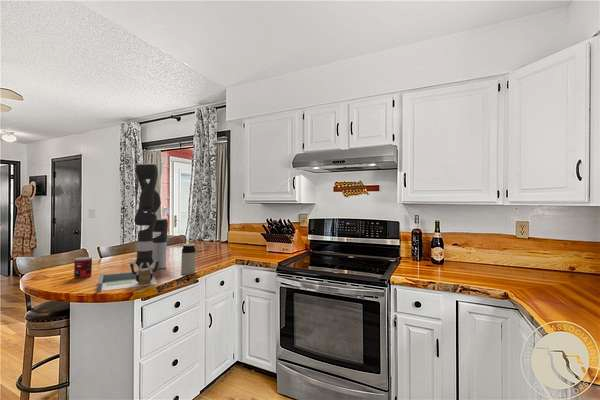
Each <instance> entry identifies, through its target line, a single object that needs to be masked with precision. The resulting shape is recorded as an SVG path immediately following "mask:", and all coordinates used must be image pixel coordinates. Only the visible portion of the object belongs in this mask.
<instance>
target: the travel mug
mask: <svg viewBox="0 0 600 400" xmlns="http://www.w3.org/2000/svg"><path fill="white" fill-rule="evenodd" d="M195 245H196V244H195V243H184V244H182V248H181V265H180V266H181V269H180V270H181V271H180V273H181V275H185V276H188V275H193V274H195V273H196V248H195Z"/></svg>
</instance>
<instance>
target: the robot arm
mask: <svg viewBox="0 0 600 400" xmlns="http://www.w3.org/2000/svg"><path fill="white" fill-rule="evenodd" d="M158 172H159V171H158V167H157V165H156V163H137V164H136V165H135V174H136V177H137V181H138V183H139V185H140V189H141V193H140V195H139V200H138V201H139V204H138V208H137V210H136V213H135V216H134V225H136V226H140V227H141V226H144V227H145V226H148V227H147V228H145V229H141V230H139V231H138V232H137V244H136V260H135V262H130V263H129V266H130V269H131V272H132V274H135V275H136V281H137V282H139V272H140V271H141V269H149V271H150V281H151V280H152V274H153V273H154V274H155V273H156V272H157V270H159V269H165V268H166V267H167V250H168V249H167V245H168V244H167V241H168V229H169V221H168V219H167V218H160V217H159V218H157V217H158V216H157V214H156V213H157V212H158V211H159V209H160V208H161V204H162V201H161V197H160V194H159V192H158V191H157V190H156V186H157V180H158V175H159V173H158ZM147 180H149V182H147ZM153 233H160V234H159V235H157V236H154V234H153ZM153 236H154V237H153ZM136 266H137V267H138V268H137V270H136V271H137V272H136V271H135V268H134V267H136Z"/></svg>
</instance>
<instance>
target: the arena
mask: <svg viewBox="0 0 600 400" xmlns="http://www.w3.org/2000/svg"><path fill="white" fill-rule="evenodd" d="M135 272H137V270H136V271H135ZM153 285H158V282H157V280H156V278H155V272H154V273H153V274H152V280H151V281H150V284H144V285H139V282H137V281H136V275H135V274H132V271H127V272H126V271H125V272H116V273H115V272H113V273H105V274H100V275H99V279H98V280H97V292H100V291H101V292H102V291H110V290H118V289H119V290H121V289H127V288H129V289H130V288H135V287H143V286H153Z"/></svg>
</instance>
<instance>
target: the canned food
mask: <svg viewBox="0 0 600 400" xmlns="http://www.w3.org/2000/svg"><path fill="white" fill-rule="evenodd" d="M92 267H93V257H92V256H84V257H83V256H80V257H76V258H74V267H73V268H74V269H73V278H74V279H76V280H83V279H89V278H91V277H92V270H93V268H92Z"/></svg>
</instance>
